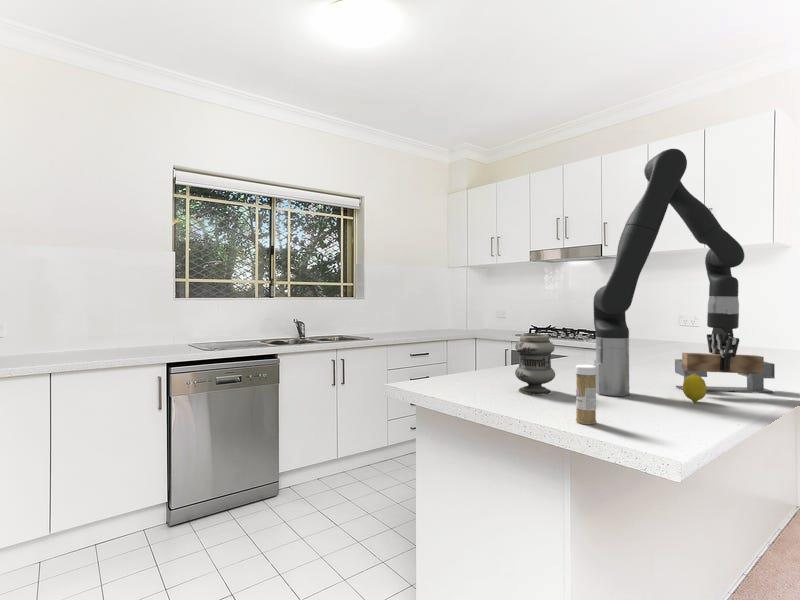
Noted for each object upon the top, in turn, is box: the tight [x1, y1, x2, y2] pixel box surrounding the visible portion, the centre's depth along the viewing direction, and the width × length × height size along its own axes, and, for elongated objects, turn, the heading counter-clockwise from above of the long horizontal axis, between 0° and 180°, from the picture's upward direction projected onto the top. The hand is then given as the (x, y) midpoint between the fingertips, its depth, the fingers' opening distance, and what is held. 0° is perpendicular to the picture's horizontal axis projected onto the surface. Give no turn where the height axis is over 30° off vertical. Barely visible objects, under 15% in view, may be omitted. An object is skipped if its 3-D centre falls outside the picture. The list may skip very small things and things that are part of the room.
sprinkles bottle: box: [575, 364, 597, 425], centre depth 105 cm, size 5×5×14 cm
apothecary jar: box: [514, 333, 556, 396], centre depth 140 cm, size 12×12×18 cm
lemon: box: [682, 374, 707, 403], centre depth 124 cm, size 6×6×8 cm
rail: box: [681, 352, 765, 374], centre depth 132 cm, size 20×4×5 cm, turn 79°
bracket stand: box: [674, 358, 776, 394], centre depth 140 cm, size 25×7×9 cm, turn 79°
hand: (721, 369), depth 132 cm, fingers closed on rail, 3 cm apart
